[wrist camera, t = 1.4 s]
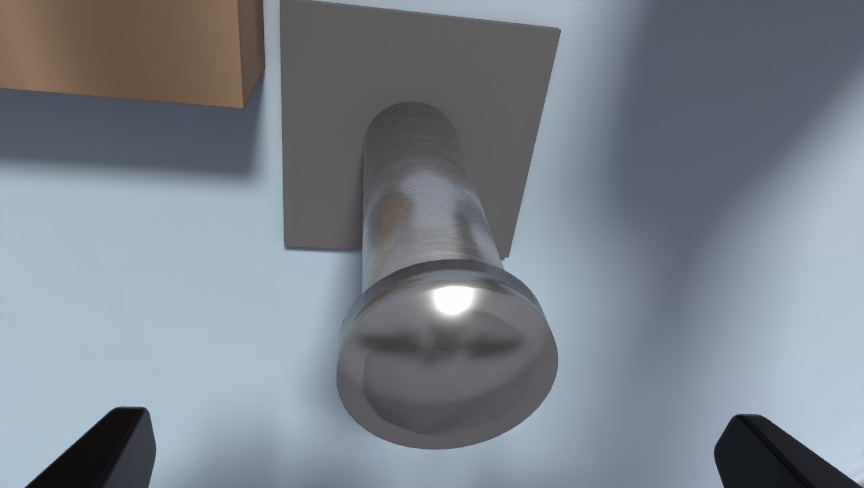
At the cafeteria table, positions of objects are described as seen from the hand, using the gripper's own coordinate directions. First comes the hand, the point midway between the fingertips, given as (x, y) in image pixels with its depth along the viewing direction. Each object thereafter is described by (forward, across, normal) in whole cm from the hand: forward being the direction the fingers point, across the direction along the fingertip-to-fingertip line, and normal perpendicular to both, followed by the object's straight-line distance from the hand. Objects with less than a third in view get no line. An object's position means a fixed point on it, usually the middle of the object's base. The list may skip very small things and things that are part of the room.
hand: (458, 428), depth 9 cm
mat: (+12, 0, 0) cm, 12 cm away
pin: (+11, 0, 0) cm, 11 cm away
